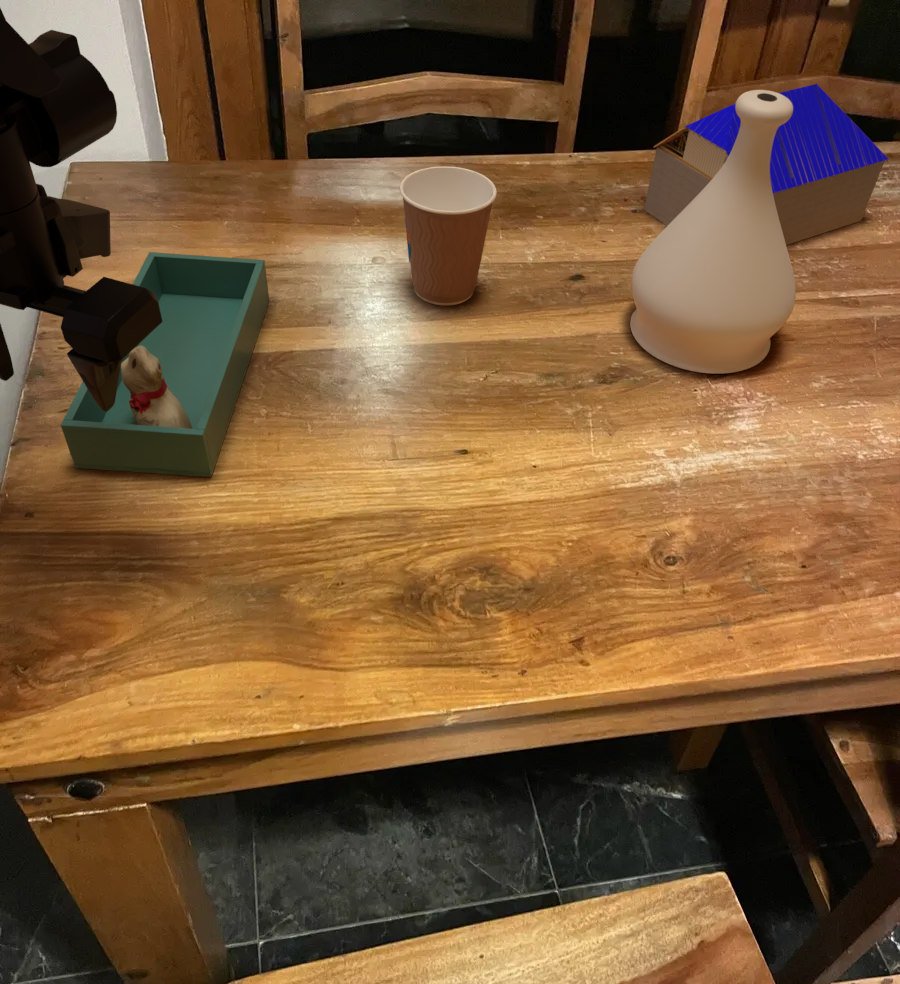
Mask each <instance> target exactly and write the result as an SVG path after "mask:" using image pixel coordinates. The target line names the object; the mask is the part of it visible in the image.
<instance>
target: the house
mask: <svg viewBox="0 0 900 984" xmlns="http://www.w3.org/2000/svg"><path fill="white" fill-rule="evenodd" d="M778 93H779V94H781V95H783V96H785V97H787V98H788V99H789V100H790V101H791V103H792V105H793V113H792V116H791V118H790V119H789V120H788V121H787V122H786V123H784V124H782V125H781V126H779V127H778V129H777V131H776V134H775V137H774V141H773V146H772V151H771V158H770V179H771V186H772V192H773V197H774V201H775V205H776V209H777V213H778V217H779V221H780V225H781V228H782V232H783V236H784V239H785V243H786V246H787V245H791V244H793V243H798V242H800V241H804V240H806V239H809V238H812V237H815V236H819V235H822V234H824V233H828V232H830V231H833V230H834V231H835V230H837V229H840V228H844V227H846V226H849V225H852V224H856V223H859V222H862V220H863V218H864V215H865V212H866V209H867V208H868V205H869V203H870V199H871V197H872V195H873V192H874V189H875V187H876V185H877V183H878V179H879V176H880V174H881V172H882V169H883V167H884V164H885V161H886V162H887V163H888V162H889V160H890V159H889V157H887V155H886V154H885V153H884V152H883V151H882V150H881V149H880V148H879V147H878V146H877V145H876V144H875V143H874V142H873V140H872V139H870V138H869V137H868V135H867V134H865V133H864V131H863V130H862V129H861V128H860V127H859V125H857V123H855V122H854V121H853V120H852V118H851V117H849V116H848V114H847V113H846V112H845V111H844V110H843V109H842V108H841V107H840V106H839V105H838V104H837V103H836V102H835V101H834V100H833V99H832V97H830V96H829V95H828V94H827V93H826V91H824V90H823V89H822V88H821V87H820V86H819V84H817V83H815V84H810V85H806V86H801V87H798V88H794V89H793V88H792V89H790V90H785V91H781V92H778ZM735 105H736V102H735V103H733V104H731V105H728V106H726V107H725V108H722V109H720V110H717V111H715V112H713V113H712V114H709V115H707V116H705V117H702V118H700V119H697V120H696V121H694V122H693V121H692V122H691V123H689V124H687V125H685V126H683V127H682V128H679V130H677V131H675V132H674V133H672V134H671V135H669V136H668V137H666V138H665V139H663V140H661V141H659V142H658V143H656V144H655V145H654V146H653V149H655V148H656V149H655V154H654V159H653V164H652V169H651V174H650V178H649V183H648V187H647V193H646V197H645V203H644V207H643V211H645V212H646V213H648V214H649V215H651V216H652V217H653V218H654V219H656V220H658V221H659V222H661V223H662V224H664V225H665V226H666V227H667V226H668V225H669V224H670V223H671V222H672V221H673V220H674V219H675V218H676V217H677V216H678V215H679V214H680V213H681V212H682V211H683V210H684V209H685V208H686V207H687V205H688V204H689V203H690V202H691V201H692V200H693V199H694V198H695V197H696V196H697V195H698V194H699V193H700V192H701V191H702V190H703V189H704V188H705V187H706V185H707V184H708V183H709V182H710V181H711V180H712V179H713V178H714V176H715V175H716V174H717V173H718V171H719V170H720V169H721V167H722V166H723V164H724V163H725V161H726V160H727V158H728V156H729V154H730V152H731V150H732V148H733V146H734V143H735V141H736V138H737V135H738V132H739V129H740V125H741V120H740V118H739V116H738V115H737V113H736V109H735Z"/></svg>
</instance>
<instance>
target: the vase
mask: <svg viewBox="0 0 900 984" xmlns="http://www.w3.org/2000/svg"><path fill="white" fill-rule="evenodd" d="M779 93H780V92H776V91H772V90H768V89H767V90H766V89H751V90H748V91H745V92H743V93H742V94H741V95H739V96H738V98H737V99H736V101H735V103H736V105H735V109H736V113H737V115H738V116H739V118H740V120H741V125H740V129H739V132H738V135H737V138H736V141H735V143H734V146H733V148H732V150H731V152H730V154H729V156H728V158H727V160H726V161H725V163H724V164H723V166H722V167H721V169H720V170H719V171H718V173H717V174H716V175H715V176H714V178H713V179H712V180H711V181H710V182H709V183H708V184H707V185H706V187H705V188H704V189H703V190H702V191H701V192H700V193H699V194H698V195H697V196H696V197H695V198H694V199H693V200H692V201H691V202H690V203H689V204H688V205H687V207H686V208H685V209H684V210H683V211H682V212H681V213H680V214H679V215H678V216H677V217H676V218H675V219H674V220H673V221H672V222H671V223H670V224H669V225H668V226H667V225H666V226H665V228H664V229H662V231H661V232H660V233H659V234H658V235H657V236H655V238H654V239H653V240H652V241H651V242H650V243H649V245H648V246H647V247H646V248H645V249H644V250H643V252H642V253H641V255H640V256H639V257H638V259H637V261H636V263H635V265H634V267H633V270H632V274H631V281H630V286H631V294H632V298H633V302H634V304H635V308H636V309H634V311H633V312H632V315H631V317H630V323H629V324H630V330H631V331H630V332H631V333H632V336H633V337H634V339H635V341H636V342H637V343H638V345H639V346H640V347H641V348H642V349H643V350H645V352H647V353H649V354H650V355H651V356H652V357H655V358H656V359H658V360H660V361H662V362H664V363H666V364H668V365H671V366H673V367H676V368H678V369H683V370H685V371H689V372H694V373H695V372H696V373H703V374H712V375H713V374H714V375H715V374H719V375H720V374H732V373H738V372H741V371H744V370H748V369H750V368H753V367H755V366H756V365H758V364H759V363H761V362H763V360H764V359H765V358H766V357H767V355H768V353H769V352H770V349H771V338H772V336H774V335H775V334H776V333H777V332H778V331H779V330H781V329H782V327H783V326H784V325H785V324H786V323H787V322H788V320H789V318H790V316H791V315H792V312H793V310H794V307H795V305H796V304H795V303H796V297H797V296H796V295H797V289H796V280H795V275H794V270H793V265H792V262H791V258H790V254H789V251H788V246H787V245H786V243H785V239H784V236H783V232H782V228H781V225H780V221H779V217H778V213H777V209H776V205H775V201H774V197H773V192H772V186H771V179H770V158H771V151H772V146H773V141H774V137H775V134H776V131H777V129H778V127H779V126H781V125H782V124H784V123H786V122H787V121H788V120H789V119H790V118H791V116H792V113H793V105H792V103H791V101H790V100H789V99H788V98H787V97H785V96H783V95H781V94H779Z"/></svg>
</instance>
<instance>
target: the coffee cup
mask: <svg viewBox="0 0 900 984" xmlns="http://www.w3.org/2000/svg"><path fill="white" fill-rule="evenodd" d="M399 192H400V195H401V197H402V203H403V210H404V221H405V231H406V232H405V233H406V243H407V255H408V262H409V263H410V264H409V265H410V273H411V281H412V284H413V288H414V292H415V295H417V296H418V298H420V299H421V300H422V301H424V302H426V303H428V304H432V305H437V306H445V307H447V306H456V305H459V304H462V303H464V302H467V300H469V299H471V297H472V296H473V294H474V292H475V288H476V285H477V282H478V277H479V274H480V273H479V272H480V269H481V264H482V263H481V262H482V257H483V252H484V247H485V243H486V236H487V232H488V227H489V223H490V218H491V211H492V206H493V202H494V201H495V199H496V198H497V188H496V185H495V184H494V182H493V181H492V180H491V179H489V178H488V176H486V175H484V174H482V173H480V172H477V171H475V170H472V169H469V168H464V167H457V166H449V165H448V166H444V165H440V166H430V167H424V168H421V169H418V170H415V171H413V172H411V173H409V174H408V175H406V176H405V177H404V178H402V180H401V182H400V185H399Z"/></svg>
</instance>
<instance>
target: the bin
mask: <svg viewBox="0 0 900 984" xmlns="http://www.w3.org/2000/svg"><path fill="white" fill-rule="evenodd" d="M132 284H133V285H136V286H140V287H144V288H146V289H148V290H150V291H152V292H154V293H155V294H156V297H157V300H158V303H159V308H160V313H161V317H162V323H161V324H160V325H159V326H158V327H156V328H155V329H154V330H153V331H152V332H151V333H150V334H149V335H148V336H147V337H146V338H145V339H144V340H143V341H142V342H140V343H139V344H138V345H137V346H136V347H138V346H140V345H142V346H144V347H145V348H146V349H147V350H148V352H149V353H150V354H152V355H154V356H155V357H157V358H158V360H159V362H160V364H161V368H162V376H163V378H164V380H165V383H166V384H167V386H168V388H169V389H170V390H171V392H172V393H173V394H174V395H175V397H176V398H177V399H178V400H179V402H180V403H181V405H182V406H183V408H184V410H185V412H186V414H187V416H188V418H189V420H190V423H191V425H192V428H193V429H188V428H174V427H160V426H145V425H137V421H136V418H135V416H134V414H133V412H132V410H131V408H130V404H129V399H130V396H131V394H130V391H129V390H128V389H127V388H126V386H125V385H124V383H123V380H122V373H121V367H120V374H119V380H118V386H117V392H116V399H115V404H114V406H113V407H112V408H111V409H110V410H109V411H107V412H106V411H103V410H102V409H101V408H100V407H99V405H98V404H97V403H96V401H95V400H94V398H93V397H92V395H91V393H90V392H89V390H88V388H87V387H86V385H85V384H84V382H83V381H82V382H81V384H80V386H79V387H78V390H77V392H76V394H75V395H74V397H73V400H72V401H71V404H70V406H69V407H68V409H67V411H66V414H65V415H64V417H63V419H62V422H61V424H60V427H61V430H62V434H63V436H64V439H65V442H66V444H67V447H68V451H69V454H70V457H71V459H72V462H73V465H74V468H75V469H87V470H99V471H100V470H102V471H104V470H105V471H114V472H115V471H116V472H128V473H129V472H130V473H143V474H144V473H145V474H160V475H171V476H172V475H174V476H185V477H187V476H188V477H202V478H212V476H213V474H214V470H215V467H216V465H217V461H218V459H219V456H220V452H221V449H222V446H223V443H224V440H225V437H226V434H227V431H228V428H229V425H230V422H231V418H232V416H233V413H234V410H235V406H236V404H237V400H238V397H239V394H240V391H241V388H242V385H243V382H244V379H245V377H246V374H247V370H248V367H249V364H250V362H251V361H250V360H251V357H252V355H253V352H254V348H255V346H256V343H257V339H258V337H259V334H260V331H261V328H262V324H263V321H264V318H265V315H266V312H267V309H268V306H269V303H270V294H269V286H268V285H269V284H268V276H267V269H266V260H265V259H257V258H255V259H254V258H239V257H226V256H211V255H199V254H197V255H196V254H185V253H184V254H182V253H168V252H153V251H149V252H148V254H147V255H146V257H145V259H144V261H143V262H142V265H141V267H140V269H139V270H138V273H137V275H136V277H135V279H134V281H133V282H132ZM136 347H135V348H136ZM129 354H130V353H129ZM129 354H128V355H127V356H125V357H124V358H123V359H122V362H123V361H125V360H126V359H127V358H128V357H129ZM122 362H121V364H122Z"/></svg>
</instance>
